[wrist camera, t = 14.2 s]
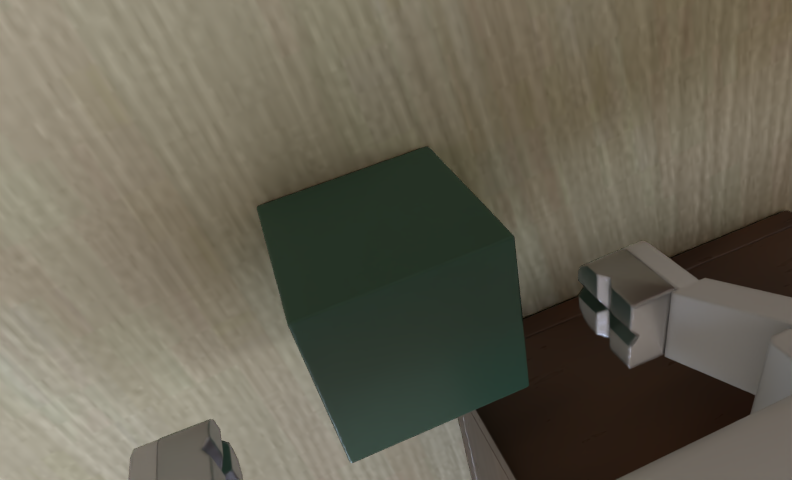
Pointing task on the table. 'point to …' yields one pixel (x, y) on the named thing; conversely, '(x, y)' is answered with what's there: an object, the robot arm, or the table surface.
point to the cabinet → (618, 383)
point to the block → (398, 298)
